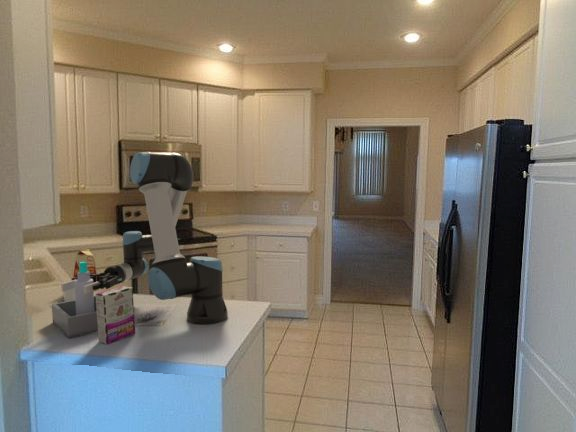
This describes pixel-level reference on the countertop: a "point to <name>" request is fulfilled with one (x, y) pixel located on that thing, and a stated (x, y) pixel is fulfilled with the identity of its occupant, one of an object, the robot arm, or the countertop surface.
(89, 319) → the tote
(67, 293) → the white cylinder
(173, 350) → the countertop surface
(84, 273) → the spray bottle
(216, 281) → the robot arm
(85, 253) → the milk carton
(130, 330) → the candy bar box
